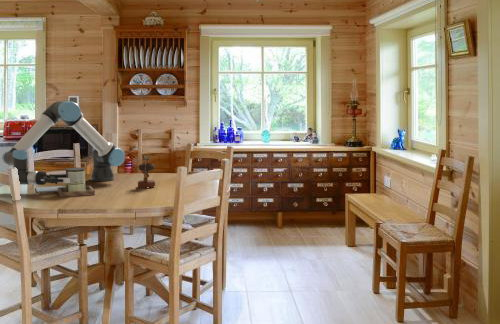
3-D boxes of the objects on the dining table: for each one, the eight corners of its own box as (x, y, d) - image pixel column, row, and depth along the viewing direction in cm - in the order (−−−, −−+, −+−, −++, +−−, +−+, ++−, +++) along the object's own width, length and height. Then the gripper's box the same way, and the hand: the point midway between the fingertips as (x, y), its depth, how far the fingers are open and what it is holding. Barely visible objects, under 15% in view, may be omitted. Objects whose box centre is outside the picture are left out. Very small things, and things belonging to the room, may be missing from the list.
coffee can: (62, 193, 287) (61, 168, 286) (77, 191, 296) (77, 167, 294) (74, 195, 282) (73, 170, 280) (89, 193, 290) (88, 168, 288)
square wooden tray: (90, 189, 301) (90, 185, 300) (94, 194, 284) (94, 190, 284) (57, 191, 293) (57, 187, 293) (60, 197, 277) (60, 192, 277)
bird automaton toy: (157, 188, 308) (154, 155, 305) (138, 190, 305) (135, 157, 302) (154, 184, 322) (151, 153, 320) (136, 186, 319) (133, 154, 317)
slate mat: (64, 186, 310) (64, 185, 310) (66, 190, 296) (66, 189, 296) (35, 188, 304) (35, 187, 304) (36, 192, 289) (36, 191, 289)
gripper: (48, 181, 301) (83, 181, 300) (27, 188, 277) (65, 188, 275) (47, 168, 301) (82, 169, 299) (26, 174, 276) (65, 175, 275)
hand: (74, 178), depth 287 cm, fingers open, 13 cm apart
